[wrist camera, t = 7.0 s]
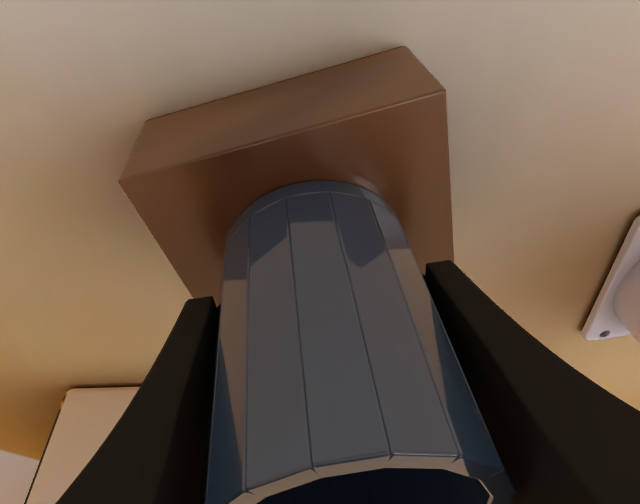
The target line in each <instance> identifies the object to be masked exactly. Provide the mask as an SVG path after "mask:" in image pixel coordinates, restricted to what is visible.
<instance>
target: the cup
mask: <svg viewBox="0 0 640 504" xmlns="http://www.w3.org/2000/svg"><path fill="white" fill-rule="evenodd" d="M515 494H516V485H515V483H514V480H513V478H512V476H511V473H510V471H509V469H508V466H507V464H506V462H505V460H504V457H503V455H502V453H501V450H500V448H499V446H498V443H497V441H496V439H495V436H494V434H493V432H492V429H491V427H490V425H489V423H488V420H487V418H486V416H485V413H484V411H483V409H482V406H481V404H480V402H479V399H478V397H477V395H476V392H475V390H474V388H473V385H472V383H471V381H470V379H469V376H468V374H467V372H466V369H465V367H464V365H463V362H462V360H461V358H460V355H459V353H458V351H457V348H456V346H455V344H454V341H453V339H452V337H451V335H450V332H449V330H448V328H447V325H446V323H445V321H444V318H443V316H442V314H441V311H440V309H439V307H438V304H437V302H436V300H435V298H434V295H433V293H432V291H431V288H430V286H429V284H428V281H427V279H426V277H425V274H424V272H423V270H422V267H421V265H420V263H419V260H418V258H417V256H416V254H415V251H414V249H413V247H412V244H411V242H410V240H409V239H408V237H407V235H406V233H405V230H404V228H403V226H402V223H401V221H400V219H399V217H398V216H397V214H396V213H395V211H394V210H393V209H392V208H391V207H390V206H389V205H388V203H386V202H385V201H384V200H383V199H381V198H380V197H379V196H377V195H375V194H374V193H372V192H370V191H369V190H366V189H364V188H361V187H359V186H356V185H353V184H349V183H345V182H339V181H330V180H315V181H305V182H300V183H295V184H291V185H288V186H284V187H281V188H279V189H276V190H274V191H272V192H270V193H268V194H266V195H264V196H263V197H261V198H259V199H258V200H256V201H255V202H254V203H252V204H251V205H250V206H249V207H247V208H246V209H245V210H244V211H243V212H242V214H241V215H240V216H239V217H238V218H237V219H236V221H235V222H234V224H233V225H232V227H231V229H230V231H229V233H228V235H227V237H226V241H225V244H224V250H223V260H222V266H221V271H220V280H219V291H218V302H217V313H216V324H215V335H214V346H213V357H212V368H211V379H210V390H209V401H208V412H207V423H206V435H205V446H204V457H203V468H202V479H201V490H200V501H199V504H511V502H512V500H513V498H514V496H515Z"/></svg>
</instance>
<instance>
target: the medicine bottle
mask: <svg viewBox="0 0 640 504" xmlns="http://www.w3.org/2000/svg"><path fill="white" fill-rule="evenodd" d="M139 388H140V387H109V388H76V389H71V390H69V391H67V393H66V394H65V396H64V398H63V401H62V404H61V406H60V409H59V412H58V414H57V417H56V420H55V422H54V425H53V428H52V430H51V433H50V436H49V438H48V441H47V444H46V447H45V449H44V452H43V455H42V457H41V460H40V463H39V465H38V468H37V471H36V473H35V476H34V479H33V482H32V484H31V487H30V489H29V492H28V495H27V497H26V500H25V503H24V504H55V503H56V502H57V501H58V500H59V498H60V497H61V496H62V495H63V494H64V492H65V491H66V490H67V489H68V487H69V486H70V485H71V484H72V482H73V481H74V480H75V479H76V477H77V476H78V475H79V474H80V472H81V471H82V470H83V469H84V467H85V466H86V465H87V463H88V462H89V461H90V460H91V458H92V457H93V456H94V454H95V453H96V452H97V450H98V449H99V447H100V446H101V445H102V443H103V442H104V441H105V439H106V438H107V437H108V435H109V434H110V432H111V431H112V429H113V428H114V427H115V425H116V424H117V422H118V421H119V419H120V418H121V416H122V415H123V413H124V412H125V410H126V408H127V407H128V405H129V404H130V402H131V401H132V399H133V397H134V396H135V394H136V393H137V391H138V389H139Z"/></svg>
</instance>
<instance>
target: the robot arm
mask: <svg viewBox="0 0 640 504" xmlns="http://www.w3.org/2000/svg"><path fill="white" fill-rule="evenodd" d="M425 277H426V279H427V281H428V284H429V286H430V288H431V291H432V293H433V295H434V298H435V300H436V302H437V304H438V307H439V309H440V311H441V314H442V316H443V318H444V321H445V323H446V325H447V328H448V330H449V332H450V335H451V337H452V339H453V341H454V344H455V346H456V348H457V351H458V353H459V355H460V358H461V360H462V362H463V365H464V367H465V369H466V372H467V374H468V376H469V379H470V381H471V383H472V385H473V388H474V390H475V392H476V395H477V397H478V399H479V402H480V404H481V406H482V409H483V411H484V413H485V416H486V418H487V420H488V423H489V425H490V427H491V429H492V432H493V434H494V436H495V439H496V441H497V443H498V446H499V448H500V450H501V453H502V455H503V457H504V460H505V462H506V464H507V466H508V469H509V471H510V473H511V476H512V478H513V480H514V483H515V485H516V494H515V496H514V498H513V500H512V502H511V504H640V411H638V410H637V409H635V408H633V407H632V406H630V405H629V404H627V403H625V402H624V401H622V400H620V399H619V398H617V397H615V396H614V395H612V394H611V393H609V392H608V391H606V390H605V389H603V388H602V387H600V386H599V385H597V384H596V383H594V382H593V381H591V380H590V379H588V378H587V377H586V376H584V375H583V374H581V373H580V372H579V371H577V370H576V369H574V368H573V367H572V366H570V365H569V364H568V363H566V362H565V361H563V360H562V359H561V358H559V357H558V356H557V355H556V354H554V353H553V352H552V351H550V350H549V349H548V348H547V347H545V346H544V345H543V344H542V343H540V342H539V341H538V340H537V339H536V338H534V337H533V336H532V335H531V334H529V333H528V332H527V331H526V330H525V329H524V328H522V327H521V326H520V325H519V324H518V323H517V322H515V321H514V320H513V319H512V318H511V317H510V316H509V315H508V314H506V313H505V312H504V311H503V310H502V309H501V308H500V307H499V306H498V305H496V304H495V303H494V302H493V301H492V300H491V299H490V298H489V297H488V296H487V295H486V294H485V293H484V292H483V291H482V290H481V289H480V288H478V287H477V286H476V285H475V284H474V283H473V282H472V281H471V280H470V279H469V278H468V277H467V276H466V275H465V274H464V273H463V272H462V271H461V270H460V269H459V268H458V267H457V266H456V265H455V264H454V263H453V262H452V261H451V260H445V261H439V262H432V263H426V270H425ZM216 313H217V306H216V303H215V301H214V298H213V296H208V297H202V298H195V299H188V301H187V302H186V303H185V305H184V307H183V309H182V311H181V313H180V315H179V317H178V319H177V321H176V323H175V325H174V327H173V329H172V331H171V333H170V335H169V337H168V339H167V341H166V342H165V344H164V346H163V348H162V350H161V352H160V353H159V355H158V357H157V359H156V361H155V362H154V364H153V366H152V368H151V369H150V371H149V373H148V375H147V376H146V378H145V380H144V381H143V383H142V385H141V386H140V388H139V389H138V391H137V393H136V394H135V396H134V397H133V399H132V401H131V402H130V404H129V405H128V407H127V408H126V410H125V412H124V413H123V415H122V416H121V418H120V419H119V421H118V422H117V424H116V425H115V427H114V428H113V429H112V431H111V432H110V434H109V435H108V437H107V438H106V439H105V441H104V442H103V443H102V445H101V446H100V447H99V449H98V450H97V452H96V453H95V454H94V456H93V457H92V458H91V460H90V461H89V462H88V463H87V465H86V466H85V467H84V469H83V470H82V471H81V472H80V474H79V475H78V476H77V477H76V479H75V480H74V481H73V482H72V484H71V485H70V486H69V487H68V489H67V490H66V491H65V492H64V494H63V495H62V496H61V497H60V498H59V500H58V501H57V502H56V503H55V504H199V501H200V490H201V479H202V468H203V457H204V446H205V435H206V423H207V412H208V401H209V390H210V379H211V368H212V357H213V346H214V335H215V324H216ZM581 334H582V335H583V337H584V338H585V340H588V341H594V340H601V339H607V338H614V337H620V336H626V335H633V336H634V338H635V339H636V340H637V341H638V342H639V344H640V215H639V216H638V217H637V218H636V219H635V220H634V222H633V223H632V226H631V228H630V230H629V232H628V234H627V236H626V238H625V240H624V243H623V245H622V247H621V249H620V251H619V253H618V255H617V257H616V260H615V262H614V264H613V266H612V268H611V270H610V272H609V274H608V277H607V279H606V281H605V283H604V285H603V287H602V289H601V291H600V294H599V296H598V298H597V300H596V302H595V304H594V306H593V308H592V311H591V313H590V315H589V317H588V319H587V321H586V323H585V325H584V328H583V330H582V333H581Z"/></svg>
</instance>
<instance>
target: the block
mask: <svg viewBox="0 0 640 504" xmlns="http://www.w3.org/2000/svg"><path fill="white" fill-rule="evenodd" d="M315 180H330V181H339V182H345V183H349V184H353V185H356V186H359V187H361V188H364V189H366V190H369V191H370V192H372V193H374V194H375V195H377V196H379V197H380V198H381V199H383V200H384V201H385V202H386V203H388V205H389V206H390V207H391V208H392V209H393V210H394V211H395V213H396V214H397V216H398V217H399V219H400V221H401V223H402V226H403V228H404V230H405V233H406V235H407V237H408V239H409V240H410V242H411V244H412V247H413V249H414V251H415V254H416V256H417V258H418V260H419V263H420V265H421V267H422V270H423V272H424V274H425V270H426V263H432V262H439V261H445V260H451V261H452V262H453V263H454V253H453V231H452V210H451V188H450V167H449V145H448V124H447V102H446V90H445V88H444V87H443V86H442V85H441V84H440V83H439V82H438V81H437V80H436V78H435V77H434V76H433V75H432V74H431V73H430V72H429V71H428V70H427V69H426V68H425V67H424V65H423V64H422V63H421V62H420V61H419V60H418V59H417V58H416V57H415V56H414V55H413V54H412V52H411V51H410V50H409V49H408V48H407V47H405V46H404V47H400V48H397V49H394V50H390V51H387V52H383V53H380V54H376V55H373V56H369V57H366V58H362V59H359V60H355V61H352V62H348V63H345V64H342V65H338V66H335V67H331V68H328V69H324V70H321V71H317V72H314V73H310V74H307V75H303V76H300V77H297V78H293V79H290V80H286V81H283V82H279V83H276V84H272V85H269V86H265V87H262V88H258V89H255V90H251V91H248V92H245V93H241V94H238V95H234V96H231V97H227V98H224V99H220V100H217V101H213V102H210V103H206V104H203V105H199V106H196V107H193V108H189V109H186V110H182V111H179V112H175V113H172V114H168V115H165V116H161V117H158V118H154V119H151V120H148V121H146V122H145V124H144V126H143V128H142V130H141V132H140V134H139V137H138V139H137V141H136V143H135V145H134V147H133V150H132V152H131V154H130V156H129V158H128V160H127V163H126V165H125V167H124V169H123V171H122V173H121V176H120V178H119V180H118V181H119V184H120V185H121V187H122V188H123V190H124V191H125V193H126V194H127V196H128V198H129V199H130V201H131V202H132V204H133V205H134V207H135V208H136V210H137V212H138V213H139V215H140V216H141V218H142V219H143V221H144V222H145V224H146V225H147V227H148V229H149V230H150V232H151V233H152V235H153V236H154V238H155V239H156V241H157V242H158V244H159V246H160V247H161V249H162V250H163V252H164V253H165V255H166V256H167V258H168V259H169V261H170V263H171V264H172V266H173V267H174V269H175V270H176V272H177V273H178V275H179V276H180V278H181V280H182V281H183V283H184V284H185V286H186V287H187V289H188V290H189V292H190V293H191V295H192V297H193V298H194V299H195V298H202V297H208V296H213V298H214V301H215V303H216V306H217V302H218V291H219V280H220V271H221V266H222V260H223V250H224V244H225V241H226V237H227V235H228V233H229V231H230V229H231V227H232V225H233V224H234V222H235V221H236V219H237V218H238V217H239V216H240V215H241V214H242V212H243V211H244V210H245V209H246V208H247V207H249V206H250V205H251V204H252V203H254V202H255V201H256V200H258V199H259V198H261V197H263V196H264V195H266V194H268V193H270V192H272V191H274V190H276V189H279V188H281V187H284V186H288V185H291V184H295V183H300V182H305V181H315Z"/></svg>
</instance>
